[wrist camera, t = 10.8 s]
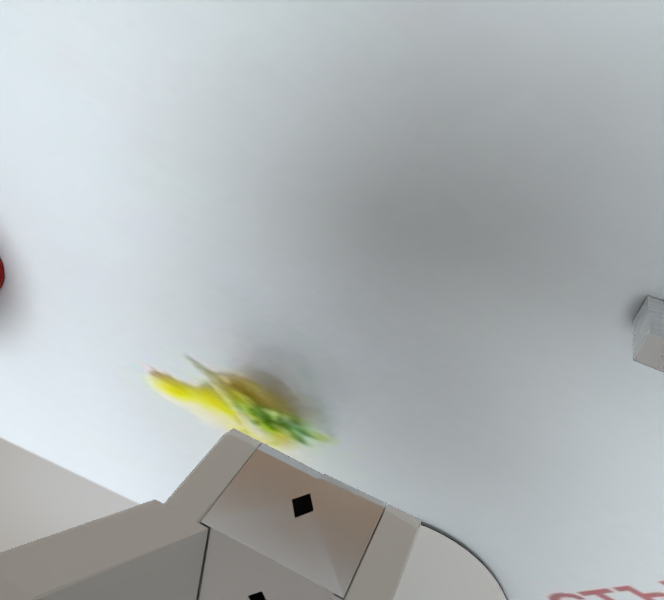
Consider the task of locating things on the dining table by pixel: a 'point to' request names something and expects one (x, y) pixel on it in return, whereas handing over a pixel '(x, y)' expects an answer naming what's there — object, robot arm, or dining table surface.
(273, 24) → the dining table surface
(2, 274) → the plastic cup
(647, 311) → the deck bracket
